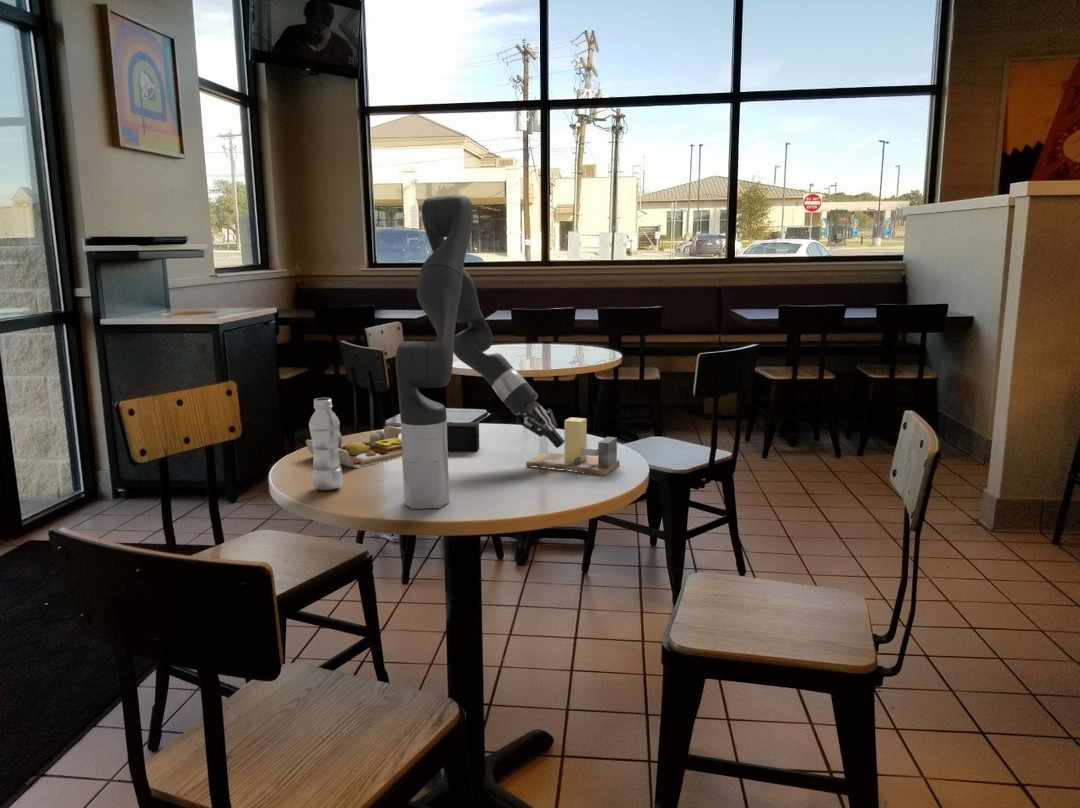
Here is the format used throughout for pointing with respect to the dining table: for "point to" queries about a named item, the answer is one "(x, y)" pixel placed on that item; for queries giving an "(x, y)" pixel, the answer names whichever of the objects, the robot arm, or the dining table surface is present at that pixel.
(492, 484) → the dining table surface
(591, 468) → the base
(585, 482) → the dining table surface
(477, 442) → the digital camera
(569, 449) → the block
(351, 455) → the toy food set
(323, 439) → the plastic bottle
